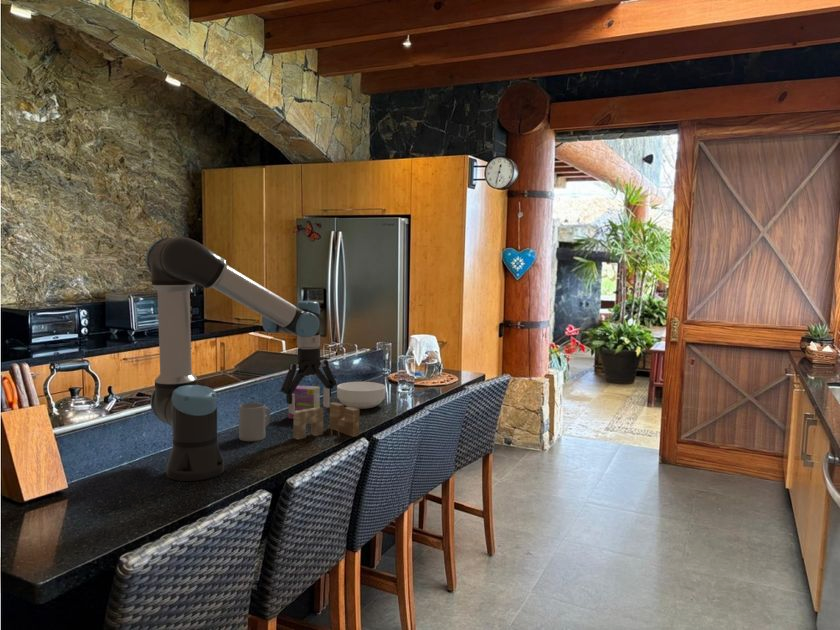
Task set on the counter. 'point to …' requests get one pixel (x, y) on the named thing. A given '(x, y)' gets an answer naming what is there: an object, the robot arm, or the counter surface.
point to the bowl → (361, 394)
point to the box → (306, 398)
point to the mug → (253, 421)
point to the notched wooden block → (344, 419)
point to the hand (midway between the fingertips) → (309, 410)
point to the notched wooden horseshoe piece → (308, 422)
